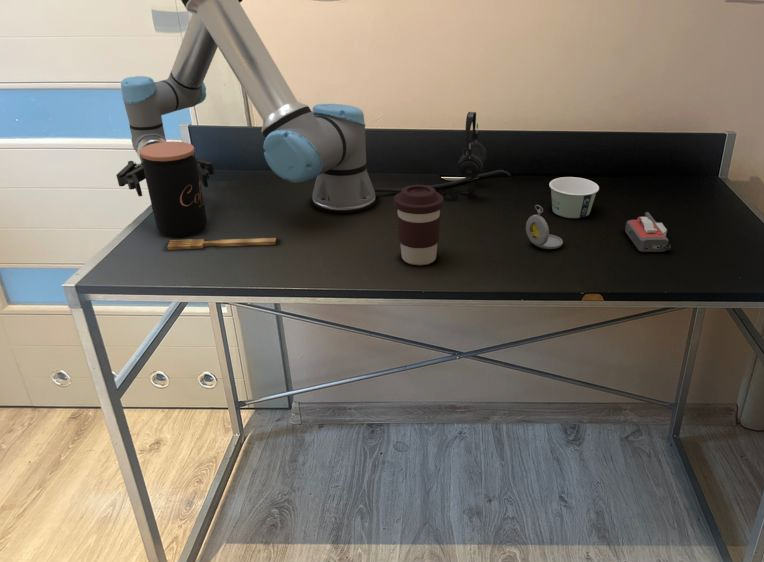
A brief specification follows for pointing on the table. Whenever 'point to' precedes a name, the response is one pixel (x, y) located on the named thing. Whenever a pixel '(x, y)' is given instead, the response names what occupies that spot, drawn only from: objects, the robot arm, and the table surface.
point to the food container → (572, 196)
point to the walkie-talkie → (647, 234)
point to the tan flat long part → (218, 243)
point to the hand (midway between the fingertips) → (173, 185)
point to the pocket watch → (541, 232)
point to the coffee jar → (174, 188)
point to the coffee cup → (418, 223)
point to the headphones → (471, 153)
